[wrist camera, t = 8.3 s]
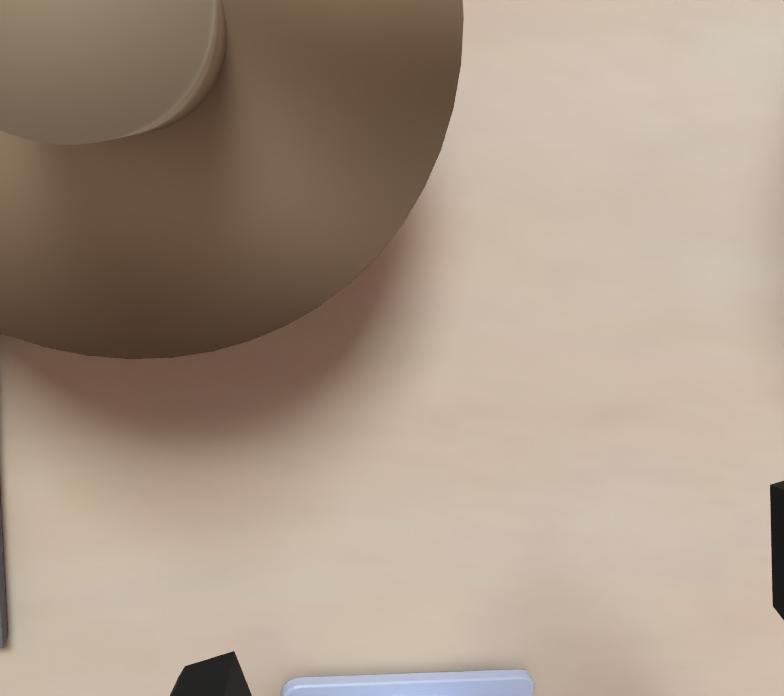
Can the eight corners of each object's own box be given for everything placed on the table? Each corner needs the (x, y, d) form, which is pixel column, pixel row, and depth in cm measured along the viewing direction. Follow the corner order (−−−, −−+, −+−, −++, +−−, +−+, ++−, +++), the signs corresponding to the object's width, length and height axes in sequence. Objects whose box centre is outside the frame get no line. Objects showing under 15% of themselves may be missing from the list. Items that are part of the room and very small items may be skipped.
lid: (453, 318, 14) (543, 415, 10) (-139, 372, 12) (-364, 520, 8) (448, -376, 10) (588, -736, 6) (-395, -436, 9) (-1081, -1007, 4)
